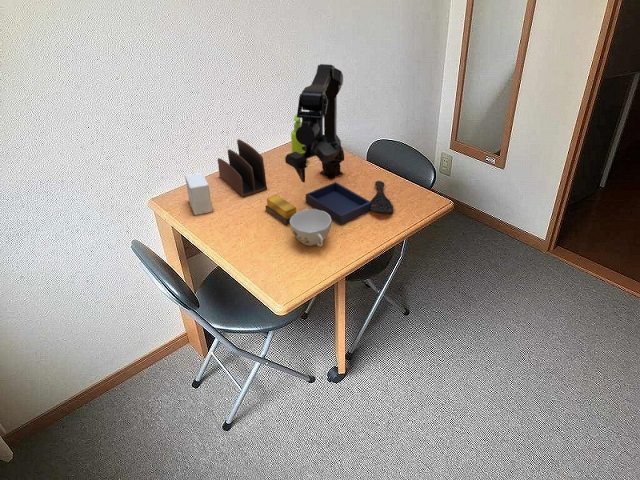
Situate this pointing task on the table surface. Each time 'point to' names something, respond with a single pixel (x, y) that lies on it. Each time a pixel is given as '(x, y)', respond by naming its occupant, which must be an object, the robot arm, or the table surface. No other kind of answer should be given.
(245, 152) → the letter holder
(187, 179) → the cosmetics box
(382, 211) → the hairbrush
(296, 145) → the soap dispenser
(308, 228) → the teacup
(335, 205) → the blue tray
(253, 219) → the table surface
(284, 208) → the duster
